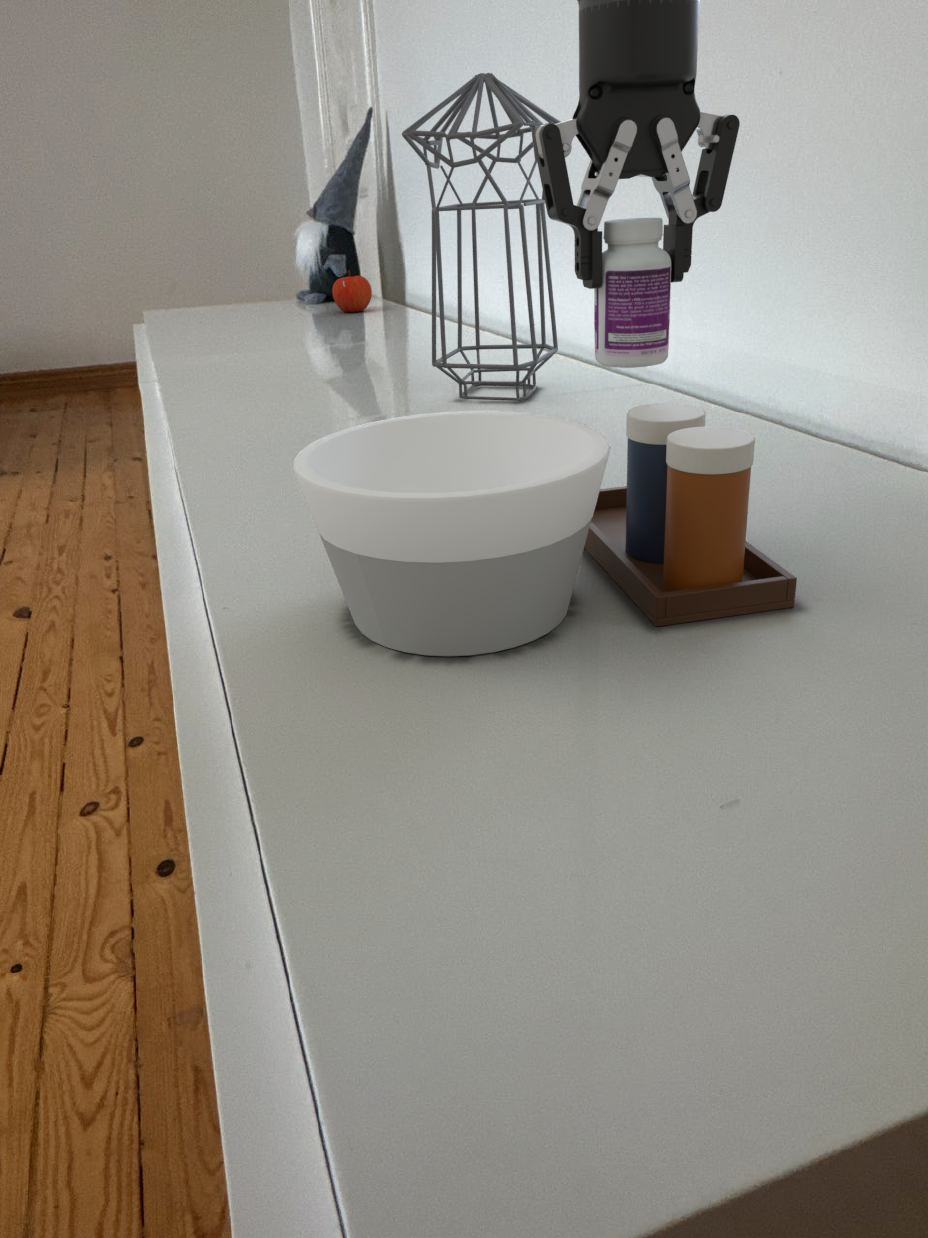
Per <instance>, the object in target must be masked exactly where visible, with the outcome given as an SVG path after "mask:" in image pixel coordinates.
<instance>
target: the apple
mask: <svg viewBox="0 0 928 1238" xmlns="http://www.w3.org/2000/svg"><path fill="white" fill-rule="evenodd" d="M347 273H348V276H345V277H340V278H338V279H336V280H335V282H334V283H333V285H332V298H333V301H334V303H335V305H336V306H337V307H338V308H339V310H340V311H342V312H344V313H353V314H354V313H359V312H362V311H364V310H366V309H367V308H368V306H369V304H370V303H371V300H372V298H373V297H372V295H373V290H372V286H371V284H370V282H369V281H368V279H367V278H366V277H365V276H363V275H355V276H351V270H350V269H348V270H347Z"/></svg>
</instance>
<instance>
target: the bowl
mask: <svg viewBox="0 0 928 1238" xmlns="http://www.w3.org/2000/svg"><path fill="white" fill-rule="evenodd" d="M610 452H611V445H610V443H609V441H608V439H607V437H606V436H605V434H603V433H602V432H600V431H599V430H598V429H596V428H595V427H592V426H589V425H587V424H585V423H581V422H580V421H575V420H572V419H568V418H563V417H559V416H553V415H548V414H541V413H532V412H523V411H509V410H507V411H506V410H505V411H504V410H459V411H441V412H440V411H439V412H431V413H430V412H429V413H421V414H419V413H418V414H411V415H404V416H398V417H397V416H396V417H391V418H385V419H381V420H376V421H371V422H365V423H362V424H359V425H354V426H351V427H347V428H344V429H341V430H338V431H335V432H333V433H330V434H327V435H325V436H323V437H321V438H319V439H317V440H314V441H313V442H310V443H309V444H308V445H306V446H305V447H304V448H302V449H301V450H300V451H299V452H298V453H297V454H296V456H295V459H294V460H293V463H292V466H293V474H294V476H295V478H296V481H297V484H298V487H299V489H300V492H301V494H302V497H303V499H304V501H305V504H306V505H307V509H308V511H309V514H310V516H311V520H312V521H313V525H314V527H315V529H316V531H317V533H318V534H319V537H320V540H321V542H322V545H323V548H324V551H325V552H326V554H327V557H328V560H329V562H330V564H331V567H332V569H333V573H334V574H335V577H336V580H337V582H338V584H339V588H340V590H341V592H342V595H343V597H344V600H345V603H346V605H347V607H348V609H349V610H348V611H349V612H350V615H351V618H352V621H353V622H354V626H356V627H357V629H358V630H359V632H360V633H361V634H362V635H364V637H366V638H368V639H369V640H370V641H372V642H374V643H376V644H378V645H381V646H383V647H385V648H388V649H393V650H395V651H399V652H403V653H407V654H413V655H414V654H415V655H419V656H420V655H422V656H433V657H461V656H462V657H465V656H476V655H477V656H478V655H483V654H490V653H491V654H492V653H496V652H500V651H501V652H502V651H505V650H508V649H513V648H517V647H519V646H522V645H525V644H528V643H531V642H534V641H535V640H538V639H539V638H541V637H543V636H545V635H547V634H550V632H551V631H553V630H554V629H555V628H557V627H558V626H559V625H560V624H561V623H562V622H563V620H564V619H565V618H566V616H567V614H568V610H569V606H570V602H571V599H572V595H573V591H574V587H575V583H576V580H577V576H578V572H579V569H580V565H581V560H582V557H583V553H584V549H585V548H584V546H585V542H586V538H587V534H588V531H589V527H590V523H591V519H592V517H593V514H594V510H595V506H596V503H597V499H598V495H599V491H600V489H601V487H602V484H603V479H604V475H605V473H606V469H607V463H608V461H609V457H610Z"/></svg>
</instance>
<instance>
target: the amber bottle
mask: <svg viewBox="0 0 928 1238" xmlns="http://www.w3.org/2000/svg"><path fill="white" fill-rule="evenodd" d="M755 444H756V437H755V435H754V434H753V433H751V432H749V431H746V430H744V429H740V428H735V427H730V426H729V427H728V426H713V425H711V426H710V425H709V426H708V425H705V426H703V427H691V428H685V429H680V430H677V431H674V432H672V433H670V434H669V435H668V436H667V448H666V463H667V465H668V466H667V492H666V519H665V545H664V572H663V588H664V590H665V592H671V591H679V590H686V589H693V588H701V587H708V586H715V585H722V584H730V583H737V582H742V581H743V568H744V555H745V542H746V541H747V528H748V516H749V515H748V514H749V502H750V489H751V475H752V466H753V464H754V459H755V458H754V457H755Z"/></svg>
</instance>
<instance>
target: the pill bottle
mask: <svg viewBox="0 0 928 1238" xmlns="http://www.w3.org/2000/svg"><path fill="white" fill-rule="evenodd" d="M663 233H664V223H663V218H662V217H631V218H618V219H610V220H605V221H604V222H603V237H602V240H604V244H606V245H607V249H606V250H604V251H602V285H601V288H595V289H593V291H594V292H593V295H594V296H593V300H594V302H593V303H594V305H593V306H594V307H593V309H594V310H593V315H594V318H593V320H594V322H593V323H594V325H593V326H594V359H595V361H596V362H597V363H598V364H599V365H601V366H603V367H607V368H622V369H633V368H635V369H636V368H646V367H652V366H657V365H658V366H659V365H661V364H663V363H665V362H666V360H667V359H668V357H669V344H670V324H671V323H670V322H671V289H672V286H671V285H672V283H671V259H670V256H669V254H668V253H667V252H666V251H665V250H663V248H661V247H659V242H660V241H661V240H663V238H662V237H663Z"/></svg>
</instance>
